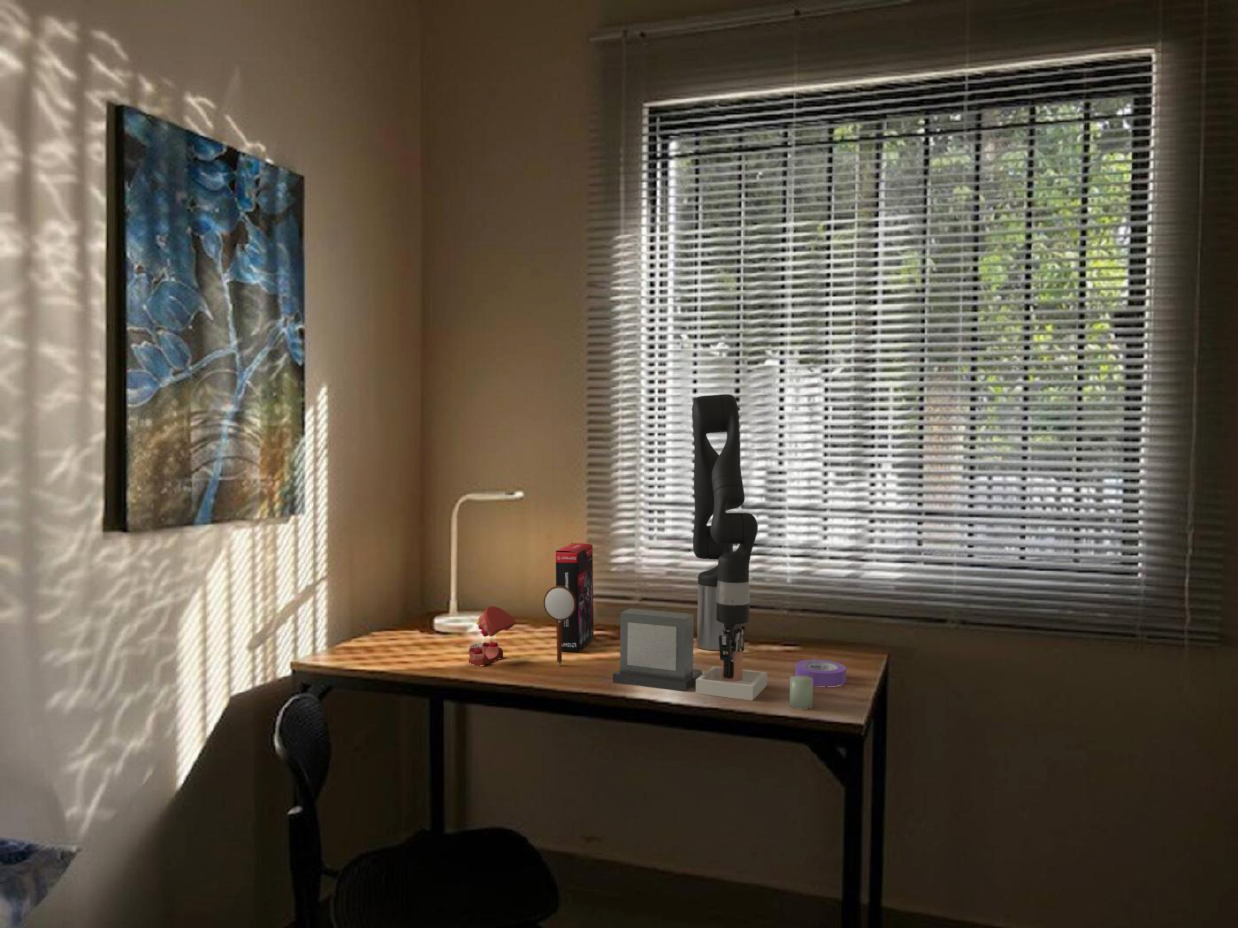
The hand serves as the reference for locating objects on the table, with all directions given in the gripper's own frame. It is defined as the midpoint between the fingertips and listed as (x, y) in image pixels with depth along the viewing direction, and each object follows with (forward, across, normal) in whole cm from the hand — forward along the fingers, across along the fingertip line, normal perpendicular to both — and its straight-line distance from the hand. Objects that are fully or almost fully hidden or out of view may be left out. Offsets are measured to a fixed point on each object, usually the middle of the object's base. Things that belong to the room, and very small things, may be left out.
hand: (731, 674), depth 205 cm
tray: (+3, 0, 0) cm, 3 cm away
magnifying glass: (+4, +2, +45) cm, 45 cm away
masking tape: (+4, +16, -17) cm, 24 cm away
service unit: (+3, 0, +18) cm, 18 cm away
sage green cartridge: (+3, -6, -17) cm, 18 cm away
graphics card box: (+3, +23, +51) cm, 56 cm away
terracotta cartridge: (+1, 0, 0) cm, 1 cm away
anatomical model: (+4, -2, +63) cm, 63 cm away
